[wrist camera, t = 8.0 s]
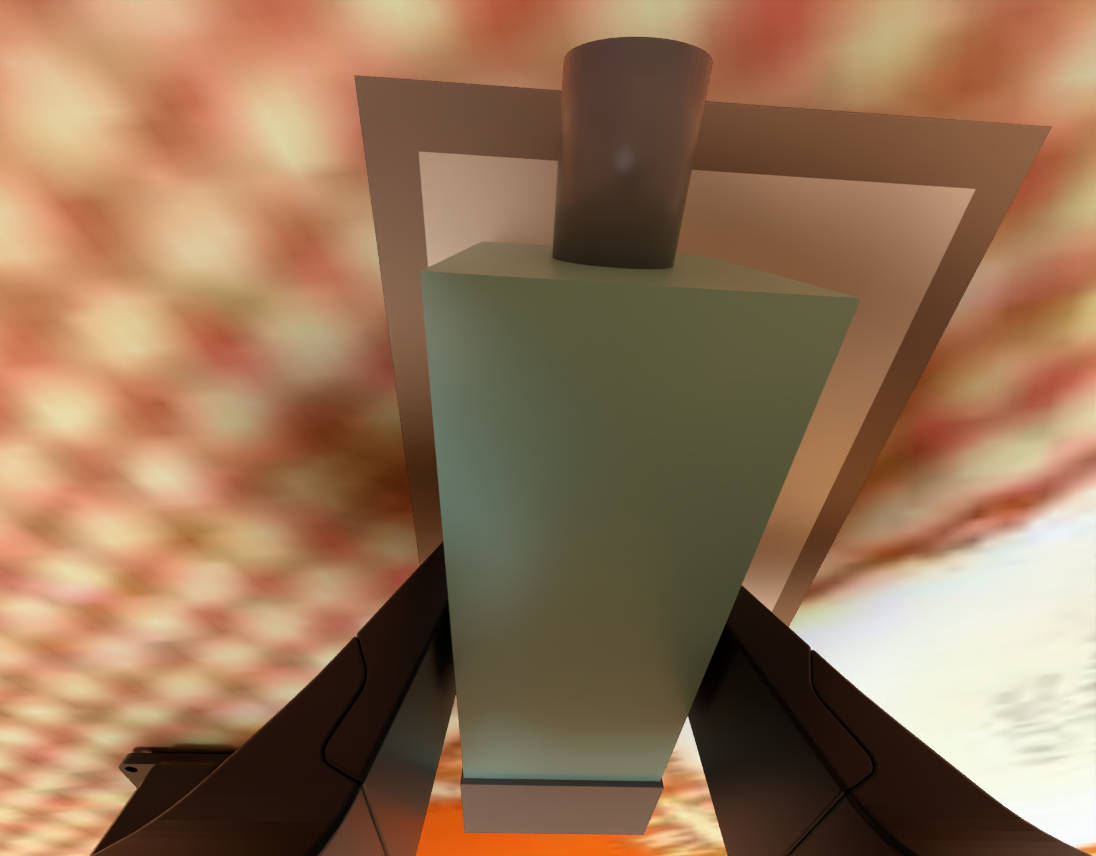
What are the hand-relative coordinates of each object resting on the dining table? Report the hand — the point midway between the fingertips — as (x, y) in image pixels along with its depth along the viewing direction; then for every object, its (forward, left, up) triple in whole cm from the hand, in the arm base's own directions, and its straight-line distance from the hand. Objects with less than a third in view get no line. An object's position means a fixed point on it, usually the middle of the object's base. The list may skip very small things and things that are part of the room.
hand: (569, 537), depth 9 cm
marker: (0, 0, -1) cm, 1 cm away
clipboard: (-1, -2, -2) cm, 3 cm away
